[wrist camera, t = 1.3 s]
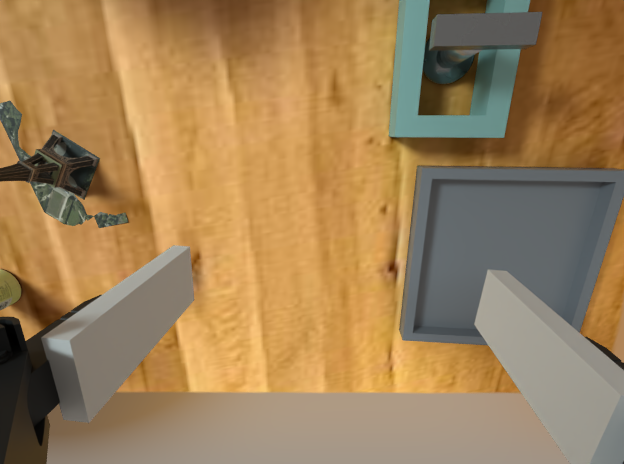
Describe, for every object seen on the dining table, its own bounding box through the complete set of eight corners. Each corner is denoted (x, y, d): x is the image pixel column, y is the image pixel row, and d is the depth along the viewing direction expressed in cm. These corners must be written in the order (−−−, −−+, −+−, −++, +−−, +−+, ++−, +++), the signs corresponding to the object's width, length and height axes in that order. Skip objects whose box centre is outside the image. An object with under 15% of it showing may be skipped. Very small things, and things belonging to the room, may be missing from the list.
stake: (412, 29, 27) (440, -10, 20) (488, 27, 27) (547, -13, 19) (407, 84, 28) (431, 68, 21) (479, 84, 28) (531, 67, 20)
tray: (417, 165, 31) (422, 167, 29) (613, 168, 29) (631, 170, 27) (399, 329, 37) (402, 340, 35) (561, 338, 35) (573, 350, 33)
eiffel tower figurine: (-4, 103, 33) (-218, 87, 20) (79, 80, 31) (-96, 47, 19) (59, 235, 37) (-85, 289, 25) (134, 220, 36) (22, 270, 23)
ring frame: (403, -57, 25) (413, -85, 22) (519, -61, 25) (547, -91, 21) (388, 136, 30) (394, 137, 27) (485, 136, 29) (504, 137, 26)
